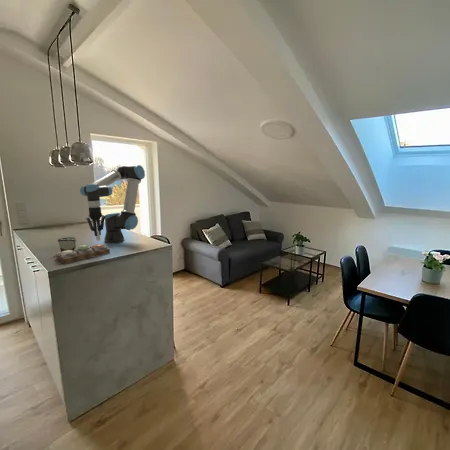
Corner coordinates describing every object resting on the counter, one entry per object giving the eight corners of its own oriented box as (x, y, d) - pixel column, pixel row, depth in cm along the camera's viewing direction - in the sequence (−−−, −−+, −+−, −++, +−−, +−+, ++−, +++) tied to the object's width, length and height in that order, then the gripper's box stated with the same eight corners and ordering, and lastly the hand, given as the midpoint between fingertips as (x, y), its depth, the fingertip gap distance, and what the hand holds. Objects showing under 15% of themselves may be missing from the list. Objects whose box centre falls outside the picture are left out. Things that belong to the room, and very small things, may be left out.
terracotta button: (100, 247, 190) (100, 243, 189) (104, 248, 186) (104, 245, 185) (92, 248, 185) (92, 245, 185) (96, 250, 181) (95, 246, 181)
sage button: (86, 247, 182) (85, 244, 181) (89, 249, 178) (89, 245, 178) (76, 249, 177) (76, 246, 177) (80, 251, 174) (80, 247, 173)
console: (100, 249, 194) (100, 243, 193) (109, 253, 185) (109, 246, 184) (56, 259, 172) (55, 252, 171) (64, 263, 163) (63, 256, 162)
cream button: (70, 253, 175) (70, 249, 174) (74, 254, 171) (73, 251, 170) (60, 255, 170) (60, 251, 170) (63, 257, 166) (63, 253, 166)
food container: (81, 250, 193) (79, 236, 191) (76, 252, 186) (75, 238, 185) (63, 250, 192) (62, 237, 190) (58, 252, 186) (57, 239, 184)
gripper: (86, 208, 173) (91, 243, 178) (106, 206, 182) (110, 239, 187) (82, 207, 178) (86, 241, 182) (101, 205, 187) (105, 237, 192)
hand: (98, 240), depth 185 cm, fingers closed
